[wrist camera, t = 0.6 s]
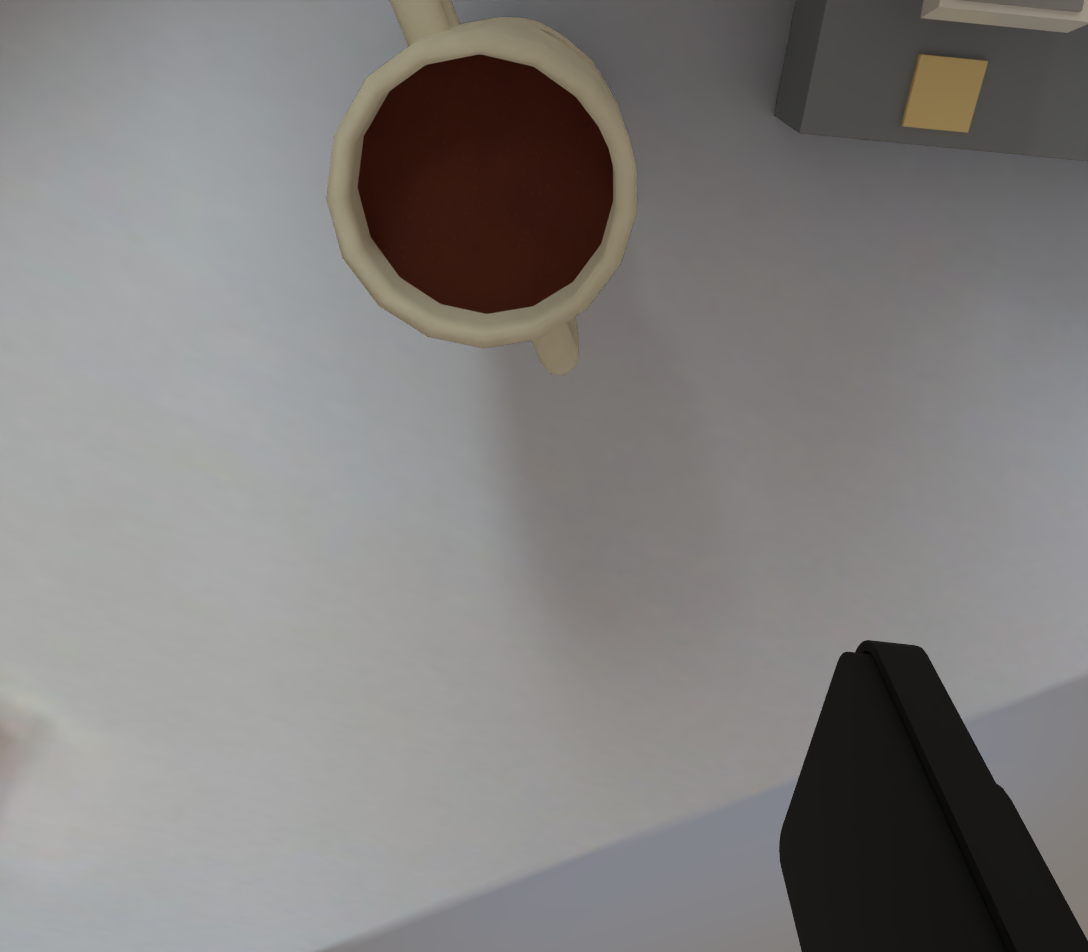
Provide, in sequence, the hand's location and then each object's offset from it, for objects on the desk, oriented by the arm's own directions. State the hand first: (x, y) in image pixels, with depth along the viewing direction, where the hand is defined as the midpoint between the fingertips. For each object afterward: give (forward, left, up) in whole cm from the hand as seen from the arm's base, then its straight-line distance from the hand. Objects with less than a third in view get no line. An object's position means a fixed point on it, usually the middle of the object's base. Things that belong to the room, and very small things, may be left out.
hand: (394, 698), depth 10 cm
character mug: (-2, 0, -27) cm, 27 cm away
